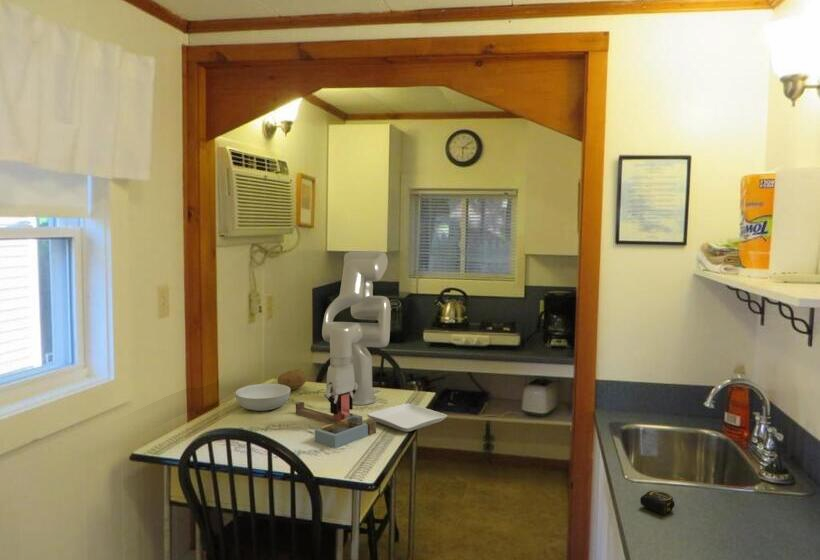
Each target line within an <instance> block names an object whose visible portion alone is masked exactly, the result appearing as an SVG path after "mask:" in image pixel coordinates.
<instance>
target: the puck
mask: <svg viewBox="0 0 820 560" xmlns="http://www.w3.org/2000/svg"><path fill="white" fill-rule="evenodd" d="M348 429H349V428H345V427H338V428H334V429H332V430H331V433H334V434H337V433H339V432H342V431H345V430H348Z"/></svg>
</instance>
